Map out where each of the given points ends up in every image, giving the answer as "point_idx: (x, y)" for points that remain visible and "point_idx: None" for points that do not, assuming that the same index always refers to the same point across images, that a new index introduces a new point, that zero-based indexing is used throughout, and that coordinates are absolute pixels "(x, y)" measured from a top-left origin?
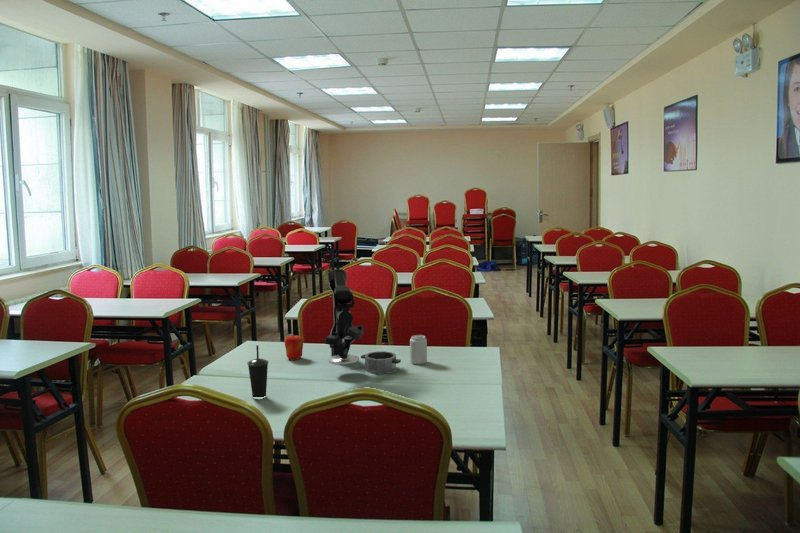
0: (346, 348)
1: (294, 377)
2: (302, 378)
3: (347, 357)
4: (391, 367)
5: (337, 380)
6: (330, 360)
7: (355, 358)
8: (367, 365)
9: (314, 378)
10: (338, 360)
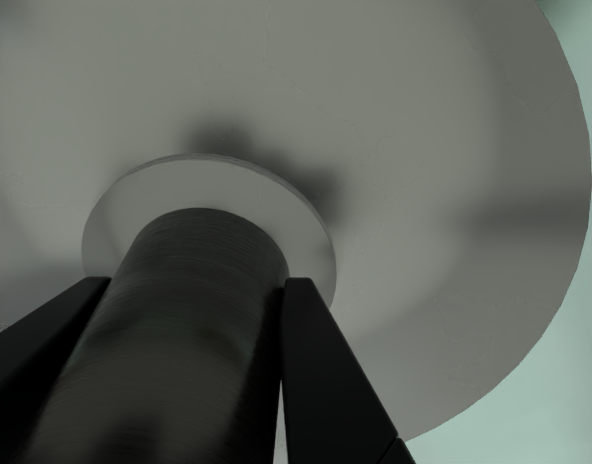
0: (107, 451)
1: (569, 457)
2: (583, 403)
3: (130, 230)
4: None
5: (563, 43)
6: (465, 396)
7: (5, 18)
8: None
9: (553, 324)
10: (405, 286)
